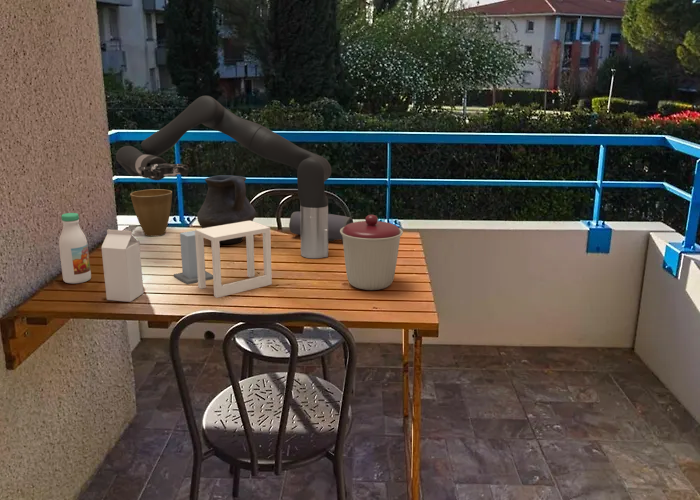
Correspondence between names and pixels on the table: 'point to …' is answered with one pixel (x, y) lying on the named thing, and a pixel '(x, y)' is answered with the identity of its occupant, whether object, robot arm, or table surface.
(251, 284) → the rack
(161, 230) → the plant pot
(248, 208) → the pitcher
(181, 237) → the blank
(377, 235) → the canister
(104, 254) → the milk carton
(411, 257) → the table surface
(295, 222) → the bluetooth speaker
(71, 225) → the milk bottle
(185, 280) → the mat
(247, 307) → the table surface
